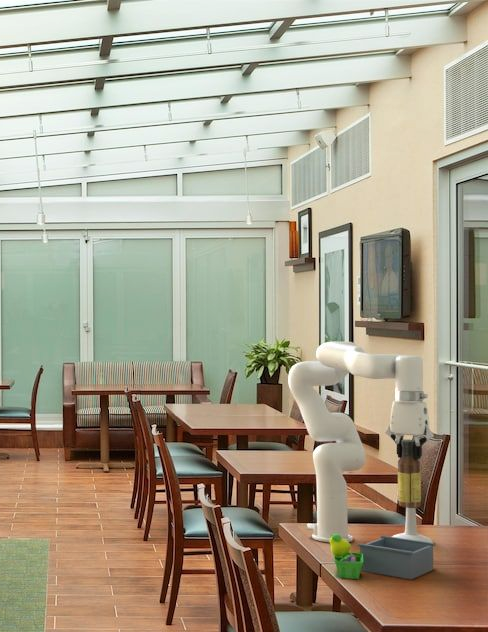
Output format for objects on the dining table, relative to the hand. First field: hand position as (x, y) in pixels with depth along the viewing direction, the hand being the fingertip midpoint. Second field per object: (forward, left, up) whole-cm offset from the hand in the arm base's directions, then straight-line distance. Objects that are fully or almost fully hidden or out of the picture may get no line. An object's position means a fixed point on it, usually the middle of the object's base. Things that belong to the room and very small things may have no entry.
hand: (409, 457), depth 286 cm
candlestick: (-10, +27, -31) cm, 42 cm away
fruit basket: (-6, -28, -31) cm, 43 cm away
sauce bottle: (0, 0, -15) cm, 15 cm away
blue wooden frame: (+2, -13, -31) cm, 34 cm away
